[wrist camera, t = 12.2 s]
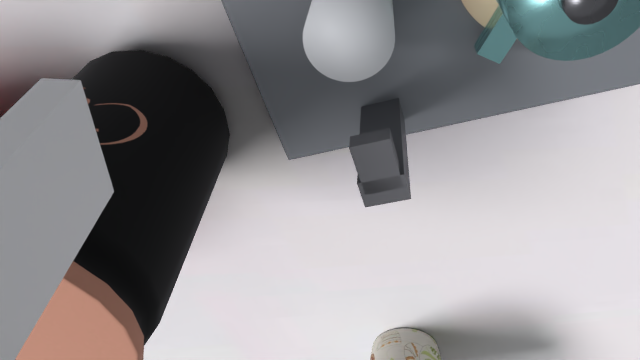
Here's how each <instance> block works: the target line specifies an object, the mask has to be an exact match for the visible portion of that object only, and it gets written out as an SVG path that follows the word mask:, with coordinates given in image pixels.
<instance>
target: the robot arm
mask: <svg viewBox="0 0 640 360" xmlns="http://www.w3.org/2000/svg"><path fill="white" fill-rule="evenodd" d="M113 193H114V189H113V186H112V183H111V179H110V176H109V173H108V169H107V166H106V163H105V159H104V156H103V153H102V150H101V146H100V143H99V140H98V136H97V133H96V130H95V126H94V123H93V120H92V116H91V113H90V110H89V106H88V103H87V100H86V96H85V93H84V90H83V86H82V83H81V80H68V79H47V78H41V79H40V80H39V81H38V82H37V83H36V84H35V85H34V86H33V87H32V88H31V89H30V90H29V91H28V92H27V93H26V94H25V95H24V96H23V97H22V98H21V99H20V100H18V101H17V102H16V103H15V104H14V105H13V106H12V107H11V108H10V109H9V110H8V111H7V112H6V113H5V114H4V115H3V116H2V117H1V118H0V360H15V359H16V357H17V355H18V353H19V352H20V350H21V348H22V347H23V345H24V343H25V342H26V340H27V338H28V337H29V335H30V333H31V331H32V330H33V328H34V326H35V325H36V323H37V321H38V320H39V318H40V316H41V315H42V313H43V311H44V309H45V308H46V306H47V304H48V303H49V301H50V299H51V298H52V296H53V294H54V292H55V291H56V289H57V287H58V286H59V284H60V282H61V281H62V279H63V277H64V276H65V274H66V272H67V270H68V269H69V267H70V265H71V264H72V262H73V260H74V259H75V257H76V255H77V254H78V252H79V250H80V248H81V247H82V245H83V243H84V242H85V240H86V238H87V237H88V235H89V233H90V232H91V230H92V228H93V226H94V225H95V223H96V221H97V220H98V218H99V216H100V215H101V213H102V211H103V210H104V208H105V206H106V204H107V203H108V201H109V199H110V198H111V196H112V194H113Z"/></svg>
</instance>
